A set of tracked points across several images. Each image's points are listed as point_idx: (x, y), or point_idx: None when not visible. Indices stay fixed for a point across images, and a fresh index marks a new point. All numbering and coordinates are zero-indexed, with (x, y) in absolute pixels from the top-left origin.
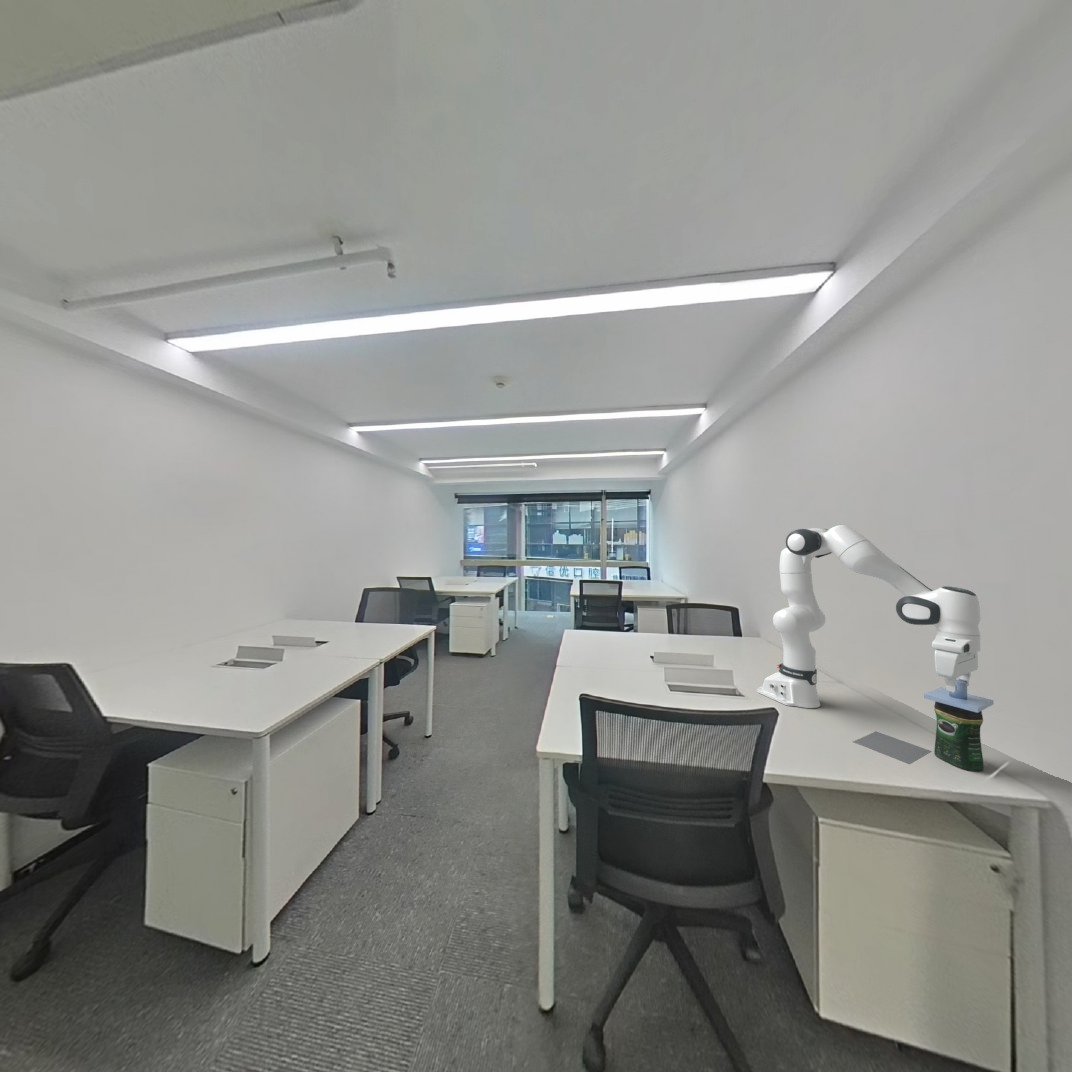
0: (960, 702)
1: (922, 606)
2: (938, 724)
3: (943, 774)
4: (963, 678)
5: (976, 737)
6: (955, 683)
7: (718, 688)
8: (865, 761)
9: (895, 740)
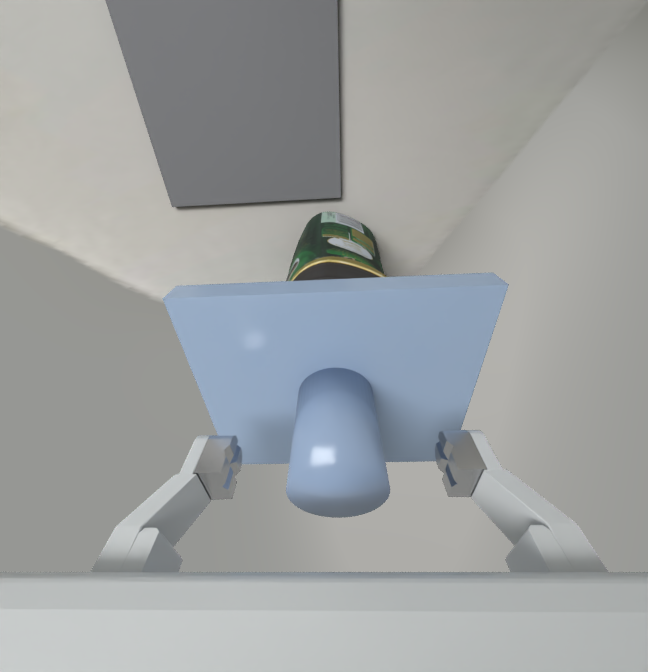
0: (240, 423)
1: None
2: (296, 262)
3: (224, 266)
4: (489, 491)
5: None
6: (185, 525)
7: None
8: (42, 122)
9: (312, 83)
